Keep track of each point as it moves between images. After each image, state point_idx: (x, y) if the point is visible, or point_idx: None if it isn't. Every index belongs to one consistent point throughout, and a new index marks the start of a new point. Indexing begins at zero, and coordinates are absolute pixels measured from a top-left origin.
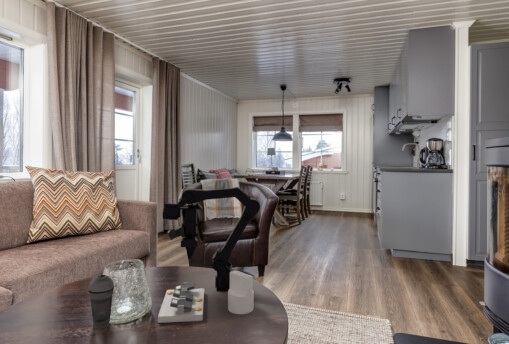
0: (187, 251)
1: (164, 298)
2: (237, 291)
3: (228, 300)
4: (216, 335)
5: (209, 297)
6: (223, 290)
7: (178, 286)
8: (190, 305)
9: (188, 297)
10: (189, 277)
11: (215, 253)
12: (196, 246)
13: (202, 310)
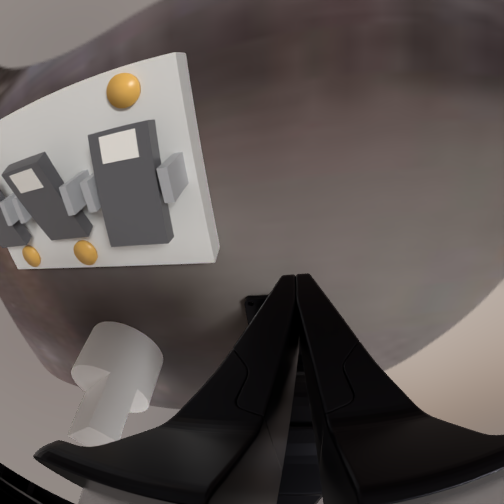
0: (229, 365)
1: (67, 88)
2: (96, 385)
3: (92, 344)
4: (2, 287)
5: (179, 270)
6: (248, 320)
7: (131, 142)
8: (7, 242)
9: (43, 225)
10: (459, 152)
11: (311, 453)
12: (29, 483)
13: (33, 267)
